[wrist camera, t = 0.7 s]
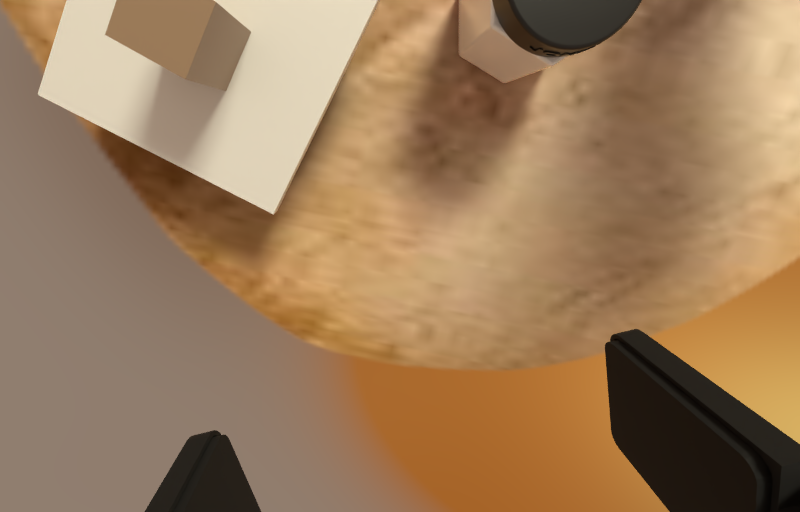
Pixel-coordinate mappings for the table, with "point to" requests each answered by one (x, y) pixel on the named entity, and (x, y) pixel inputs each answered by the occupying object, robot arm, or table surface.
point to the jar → (534, 32)
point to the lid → (208, 80)
